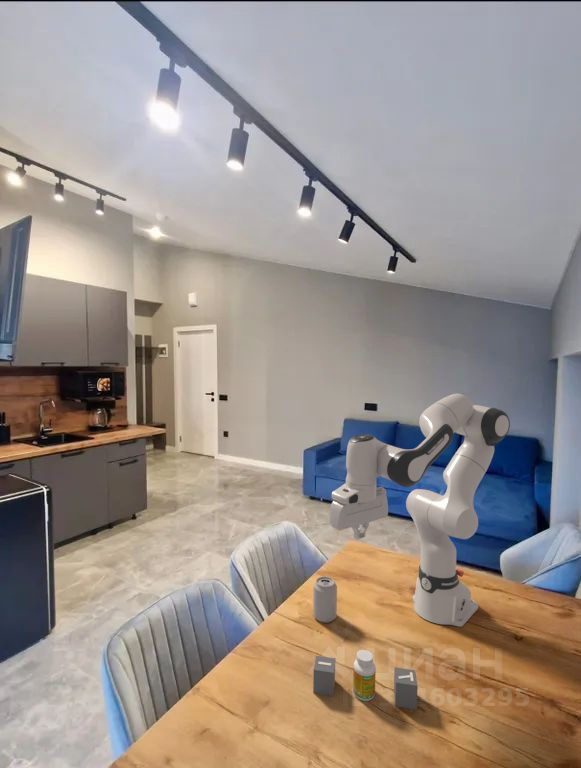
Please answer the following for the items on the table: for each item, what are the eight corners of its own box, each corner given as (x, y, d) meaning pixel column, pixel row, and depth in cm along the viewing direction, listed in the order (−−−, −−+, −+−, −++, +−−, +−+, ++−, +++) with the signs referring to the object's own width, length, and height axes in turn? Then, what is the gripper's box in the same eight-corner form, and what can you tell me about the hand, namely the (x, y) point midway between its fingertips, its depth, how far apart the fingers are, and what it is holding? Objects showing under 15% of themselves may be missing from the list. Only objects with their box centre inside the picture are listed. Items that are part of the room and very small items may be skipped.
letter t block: (393, 690, 103) (394, 666, 103) (414, 693, 102) (415, 669, 102) (395, 706, 98) (395, 681, 98) (416, 710, 97) (417, 685, 97)
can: (336, 610, 135) (336, 575, 135) (336, 625, 128) (337, 587, 127) (313, 609, 136) (314, 574, 135) (312, 623, 129) (313, 586, 128)
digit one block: (315, 677, 107) (316, 655, 106) (334, 680, 106) (335, 657, 105) (313, 692, 102) (313, 669, 101) (333, 696, 101) (333, 672, 100)
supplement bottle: (361, 705, 98) (362, 666, 98) (348, 688, 103) (349, 651, 102) (379, 696, 101) (380, 658, 100) (365, 681, 105) (366, 645, 105)
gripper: (378, 482, 127) (376, 526, 128) (326, 493, 115) (326, 541, 116) (393, 488, 122) (392, 533, 122) (341, 500, 110) (340, 550, 111)
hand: (359, 537), depth 119 cm, fingers closed
